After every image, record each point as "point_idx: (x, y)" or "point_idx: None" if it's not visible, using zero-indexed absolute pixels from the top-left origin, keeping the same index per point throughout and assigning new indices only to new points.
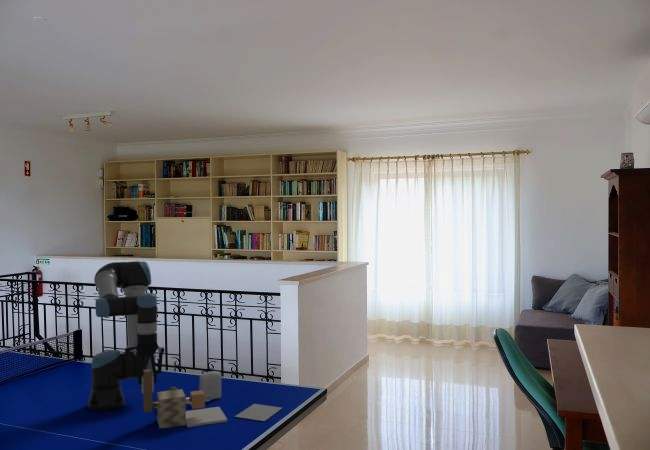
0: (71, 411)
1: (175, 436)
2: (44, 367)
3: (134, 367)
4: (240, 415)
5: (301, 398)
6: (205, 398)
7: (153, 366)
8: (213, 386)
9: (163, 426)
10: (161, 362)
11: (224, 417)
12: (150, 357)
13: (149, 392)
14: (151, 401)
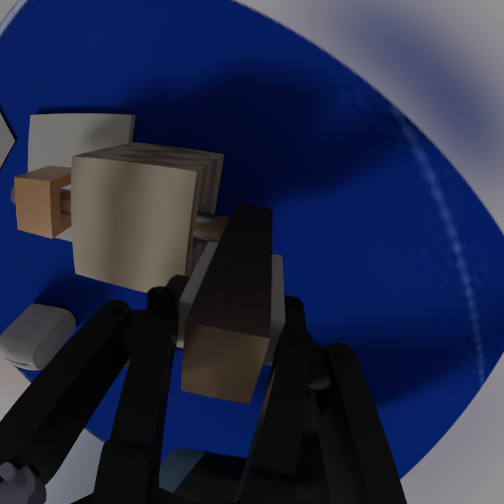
0: (382, 408)
1: (196, 53)
2: None
3: (362, 405)
4: (5, 142)
5: None
6: None
7: (151, 364)
8: (26, 324)
9: (209, 152)
10: (57, 362)
11: (32, 132)
12: (156, 476)
13: (237, 238)
14: (233, 216)
